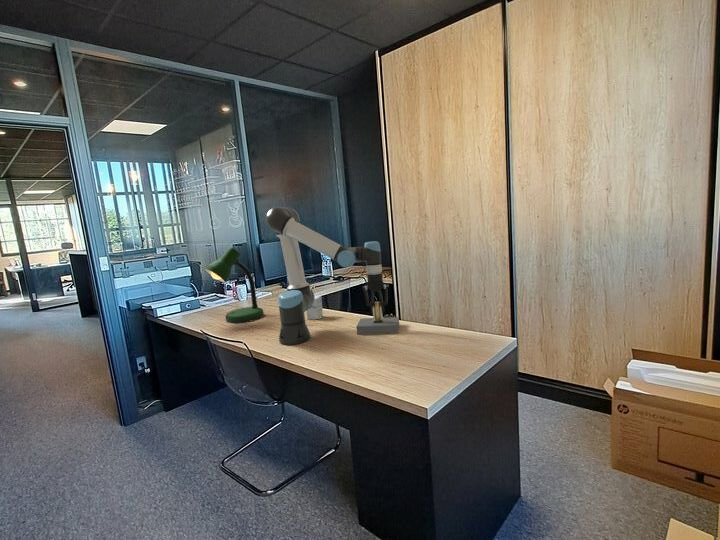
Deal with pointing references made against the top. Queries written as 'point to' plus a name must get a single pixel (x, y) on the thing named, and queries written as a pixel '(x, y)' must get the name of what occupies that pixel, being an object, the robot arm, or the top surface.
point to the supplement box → (315, 309)
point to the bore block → (378, 326)
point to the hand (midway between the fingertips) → (378, 319)
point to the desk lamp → (222, 272)
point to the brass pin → (377, 312)
